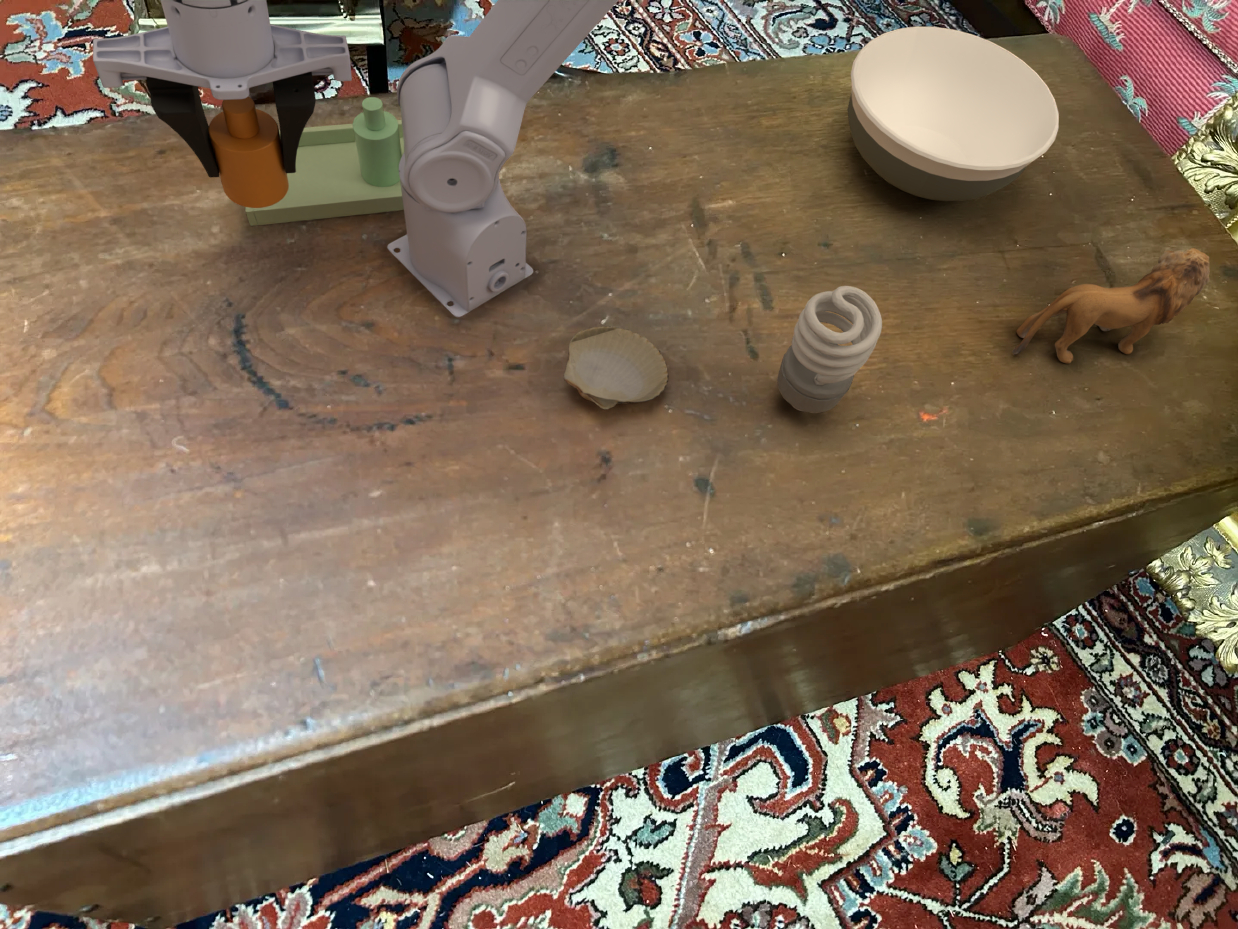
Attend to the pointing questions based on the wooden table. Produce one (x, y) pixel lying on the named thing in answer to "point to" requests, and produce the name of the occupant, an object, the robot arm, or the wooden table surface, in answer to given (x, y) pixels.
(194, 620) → the wooden table surface
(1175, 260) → the lion figurine
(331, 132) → the tray
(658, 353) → the seashell
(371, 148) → the green bottle
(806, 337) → the light bulb
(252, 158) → the amber bottle
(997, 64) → the bowl
